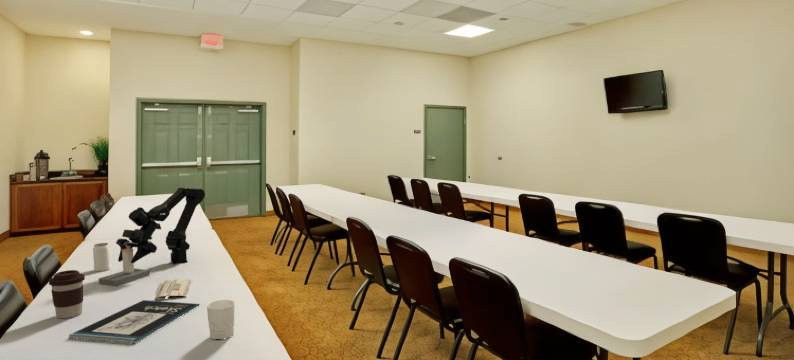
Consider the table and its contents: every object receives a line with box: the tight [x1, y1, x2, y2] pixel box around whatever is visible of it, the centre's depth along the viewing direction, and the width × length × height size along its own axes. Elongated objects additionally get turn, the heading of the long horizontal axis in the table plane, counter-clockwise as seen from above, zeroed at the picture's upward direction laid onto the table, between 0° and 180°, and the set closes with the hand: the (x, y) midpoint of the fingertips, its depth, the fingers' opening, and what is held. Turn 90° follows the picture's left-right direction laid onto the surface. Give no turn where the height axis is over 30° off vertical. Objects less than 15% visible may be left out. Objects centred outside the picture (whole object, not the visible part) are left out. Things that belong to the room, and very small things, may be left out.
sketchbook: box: [68, 299, 201, 346], centre depth 150 cm, size 23×32×2 cm
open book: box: [155, 278, 193, 301], centre depth 180 cm, size 23×12×2 cm, turn 19°
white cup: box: [206, 299, 236, 340], centre depth 138 cm, size 8×8×10 cm
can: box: [92, 242, 112, 272], centre depth 209 cm, size 6×6×12 cm
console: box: [98, 267, 150, 287], centre depth 194 cm, size 16×10×2 cm, turn 161°
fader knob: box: [122, 248, 135, 273], centre depth 195 cm, size 3×3×10 cm
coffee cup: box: [48, 269, 86, 319], centre depth 154 cm, size 10×10×15 cm
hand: (125, 262), depth 194 cm, fingers open, 7 cm apart
